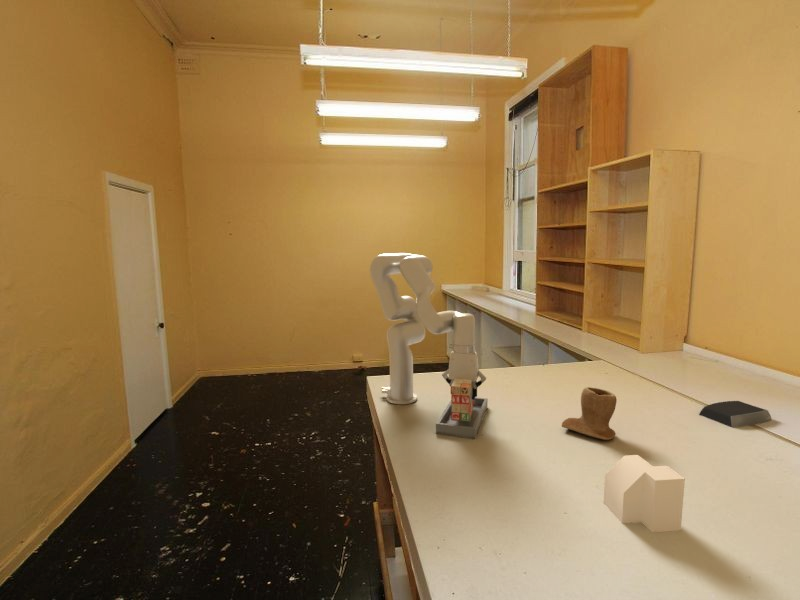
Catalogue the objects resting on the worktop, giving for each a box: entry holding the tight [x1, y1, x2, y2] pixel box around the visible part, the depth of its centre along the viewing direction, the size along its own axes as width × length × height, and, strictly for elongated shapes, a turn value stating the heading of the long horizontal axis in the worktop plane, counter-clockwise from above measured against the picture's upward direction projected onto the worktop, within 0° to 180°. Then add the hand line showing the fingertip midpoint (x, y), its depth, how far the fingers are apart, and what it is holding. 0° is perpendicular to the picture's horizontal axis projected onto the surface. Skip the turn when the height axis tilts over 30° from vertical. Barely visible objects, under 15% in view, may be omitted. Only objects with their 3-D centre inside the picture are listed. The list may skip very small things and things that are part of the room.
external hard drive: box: [698, 400, 773, 428], centre depth 148 cm, size 13×19×4 cm
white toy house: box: [602, 454, 685, 533], centre depth 94 cm, size 11×11×12 cm
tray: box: [435, 397, 488, 440], centre depth 149 cm, size 13×28×4 cm, turn 160°
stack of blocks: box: [450, 378, 475, 422], centre depth 148 cm, size 21×6×12 cm, turn 165°
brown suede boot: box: [561, 386, 617, 441], centre depth 137 cm, size 15×12×15 cm
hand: (463, 396), depth 148 cm, fingers closed on stack of blocks, 6 cm apart
